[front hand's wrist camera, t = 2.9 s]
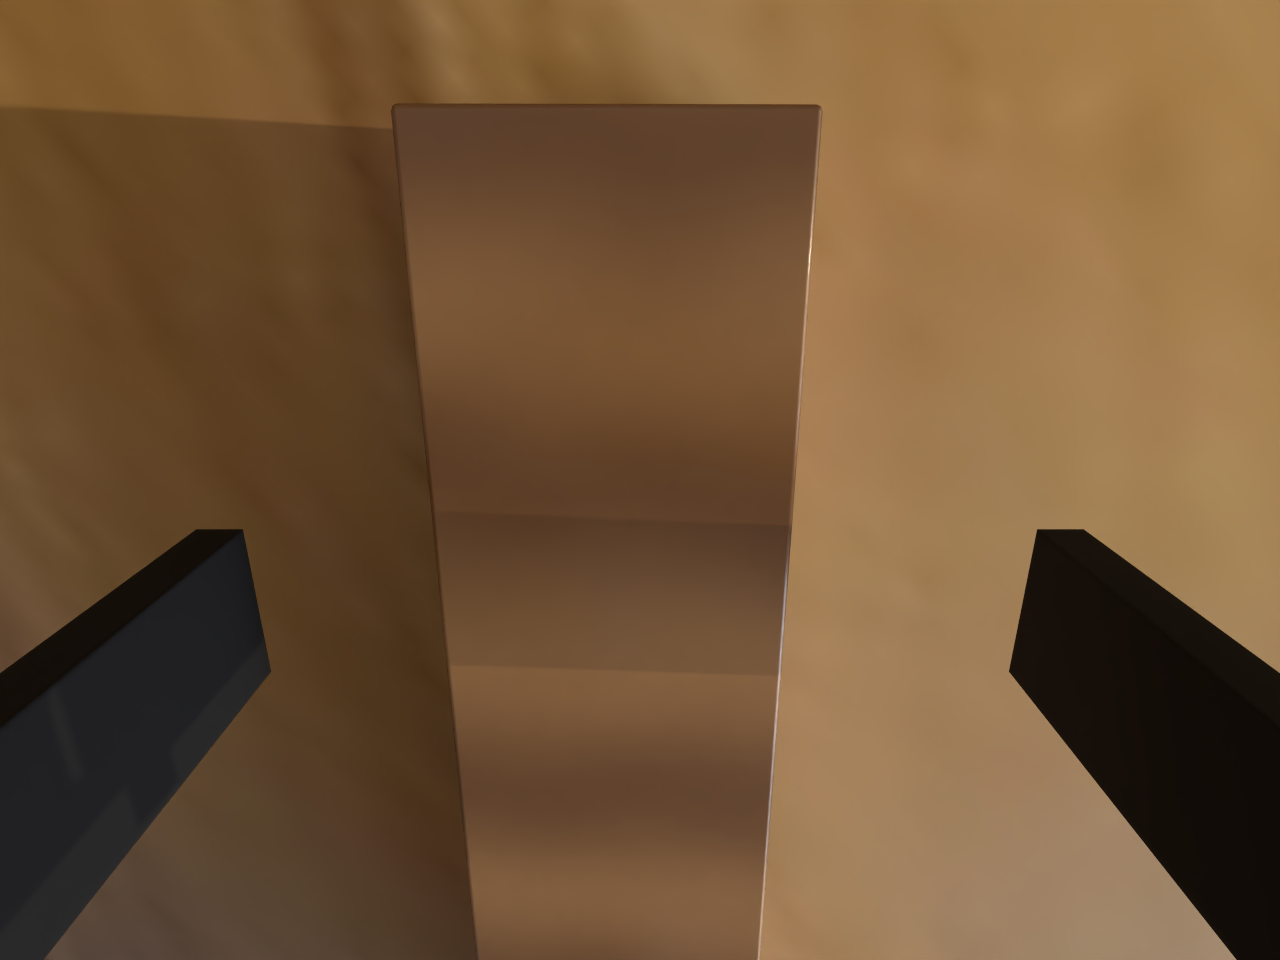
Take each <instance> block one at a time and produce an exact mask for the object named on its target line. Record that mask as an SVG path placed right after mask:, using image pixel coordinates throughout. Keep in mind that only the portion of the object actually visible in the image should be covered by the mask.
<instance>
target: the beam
mask: <svg viewBox="0 0 1280 960" xmlns="http://www.w3.org/2000/svg"><path fill="white" fill-rule="evenodd" d="M391 114H392V124H393V134H394V144H395V154H396V164H397V174H398V184H399V194H400V204H401V214H402V223H403V233H404V243H405V253H406V263H407V273H408V283H409V293H410V303H411V313H412V323H413V333H414V343H415V352H416V362H417V372H418V382H419V392H420V402H421V412H422V422H423V432H424V442H425V452H426V462H427V471H428V481H429V491H430V501H431V511H432V521H433V531H434V541H435V551H436V561H437V571H438V581H439V591H440V600H441V610H442V620H443V630H444V640H445V650H446V660H447V670H448V680H449V690H450V700H451V710H452V719H453V729H454V739H455V749H456V759H457V769H458V779H459V789H460V799H461V809H462V819H463V829H464V839H465V848H466V858H467V868H468V878H469V888H470V898H471V908H472V918H473V928H474V938H475V948H476V958H477V960H760V951H761V938H762V924H763V910H764V897H765V883H766V870H767V856H768V843H769V829H770V816H771V802H772V789H773V775H774V762H775V748H776V734H777V721H778V707H779V694H780V680H781V667H782V653H783V640H784V626H785V613H786V599H787V586H788V572H789V558H790V545H791V531H792V518H793V504H794V491H795V477H796V464H797V450H798V437H799V423H800V410H801V396H802V382H803V369H804V355H805V342H806V328H807V315H808V301H809V288H810V274H811V261H812V247H813V234H814V220H815V206H816V193H817V179H818V166H819V152H820V139H821V125H822V108H821V106H819V105H791V104H395V105H393V106H392V109H391Z"/></svg>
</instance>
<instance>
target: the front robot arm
mask: <svg viewBox="0 0 1280 960" xmlns="http://www.w3.org/2000/svg"><path fill="white" fill-rule="evenodd" d="M270 672H271V669H270V664H269V659H268V654H267V649H266V644H265V639H264V634H263V629H262V624H261V619H260V614H259V609H258V604H257V599H256V594H255V589H254V584H253V579H252V574H251V568H250V563H249V558H248V553H247V548H246V543H245V538H244V533H243V529H196V530H195V531H194V532H192V533H191V534H189V535H188V536H187V537H185V538H184V539H183V540H181V541H180V542H179V543H177V544H176V545H174V546H173V547H172V548H170V549H169V550H168V551H166V552H165V553H164V554H162V555H161V556H159V557H158V558H157V559H155V560H154V561H153V562H151V563H150V564H149V565H147V566H146V567H144V568H143V569H142V570H140V571H139V572H138V573H136V574H135V575H134V576H132V577H131V578H129V579H128V580H127V581H125V582H124V583H123V584H121V585H120V586H119V587H117V588H116V589H114V590H113V591H112V592H110V593H109V594H108V595H106V596H105V597H104V598H102V599H101V600H99V601H98V602H97V603H95V604H94V605H93V606H91V607H90V608H89V609H87V610H86V611H84V612H83V613H82V614H80V615H79V616H78V617H76V618H75V619H74V620H72V621H71V622H69V623H68V624H67V625H65V626H64V627H63V628H61V629H60V630H59V631H57V632H56V633H54V634H53V635H52V636H50V637H49V638H48V639H46V640H45V641H44V642H42V643H41V644H39V645H38V646H37V647H35V648H34V649H33V650H31V651H30V652H29V653H27V654H26V655H24V656H23V657H22V658H20V659H19V660H18V661H16V662H15V663H14V664H12V665H11V666H9V667H8V668H7V669H5V670H4V671H3V672H1V673H0V960H43V959H44V958H45V957H46V956H47V954H48V953H49V952H50V951H51V949H52V948H53V947H54V946H55V944H56V943H57V942H58V941H59V939H60V938H61V937H62V935H63V934H64V933H65V932H66V930H67V929H68V928H69V927H70V925H71V924H72V923H73V922H74V920H75V919H76V918H77V916H78V915H79V914H80V913H81V911H82V910H83V909H84V908H85V906H86V905H87V904H88V903H89V901H90V900H91V899H92V897H93V896H94V895H95V894H96V892H97V891H98V890H99V889H100V887H101V886H102V885H103V884H104V882H105V881H106V880H107V878H108V877H109V876H110V875H111V873H112V872H113V871H114V870H115V868H116V867H117V866H118V865H119V863H120V862H121V861H122V859H123V858H124V857H125V856H126V854H127V853H128V852H129V851H130V849H131V848H132V847H133V846H134V844H135V843H136V842H137V840H138V839H139V838H140V837H141V835H142V834H143V833H144V832H145V830H146V829H147V828H148V827H149V825H150V824H151V823H152V821H153V820H154V819H155V818H156V816H157V815H158V814H159V813H160V811H161V810H162V809H163V808H164V806H165V805H166V804H167V802H168V801H169V800H170V799H171V797H172V796H173V795H174V794H175V792H176V791H177V790H178V789H179V787H180V786H181V785H182V783H183V782H184V781H185V780H186V778H187V777H188V776H189V775H190V773H191V772H192V771H193V770H194V768H195V767H196V766H197V764H198V763H199V762H200V761H201V759H202V758H203V757H204V756H205V754H206V753H207V752H208V751H209V749H210V748H211V747H212V746H213V744H214V743H215V742H216V740H217V739H218V738H219V737H220V735H221V734H222V733H223V732H224V730H225V729H226V728H227V727H228V725H229V724H230V723H231V721H232V720H233V719H234V718H235V716H236V715H237V714H238V713H239V711H240V710H241V709H242V708H243V706H244V705H245V704H246V702H247V701H248V700H249V699H250V697H251V696H252V695H253V694H254V692H255V691H256V690H257V689H258V687H259V686H260V685H261V683H262V682H263V681H264V680H265V678H266V677H267V676H268V675H269V673H270ZM1009 672H1010V673H1011V675H1012V676H1013V677H1014V678H1015V680H1016V681H1017V682H1018V683H1019V685H1020V686H1021V687H1022V689H1023V690H1024V691H1025V692H1026V694H1027V695H1028V696H1029V697H1030V699H1031V700H1032V701H1033V702H1034V704H1035V705H1036V706H1037V708H1038V709H1039V710H1040V711H1041V713H1042V714H1043V715H1044V716H1045V718H1046V719H1047V720H1048V721H1049V723H1050V724H1051V725H1052V727H1053V728H1054V729H1055V730H1056V732H1057V733H1058V734H1059V735H1060V737H1061V738H1062V739H1063V740H1064V742H1065V743H1066V744H1067V746H1068V747H1069V748H1070V749H1071V751H1072V752H1073V753H1074V754H1075V756H1076V757H1077V758H1078V759H1079V761H1080V762H1081V763H1082V764H1083V766H1084V767H1085V768H1086V770H1087V771H1088V772H1089V773H1090V775H1091V776H1092V777H1093V778H1094V780H1095V781H1096V782H1097V783H1098V785H1099V786H1100V787H1101V789H1102V790H1103V791H1104V792H1105V794H1106V795H1107V796H1108V797H1109V799H1110V800H1111V801H1112V802H1113V804H1114V805H1115V806H1116V808H1117V809H1118V810H1119V811H1120V813H1121V814H1122V815H1123V816H1124V818H1125V819H1126V820H1127V821H1128V823H1129V824H1130V825H1131V827H1132V828H1133V829H1134V830H1135V832H1136V833H1137V834H1138V835H1139V837H1140V838H1141V839H1142V840H1143V842H1144V843H1145V844H1146V846H1147V847H1148V848H1149V849H1150V851H1151V852H1152V853H1153V854H1154V856H1155V857H1156V858H1157V859H1158V861H1159V862H1160V863H1161V865H1162V866H1163V867H1164V868H1165V870H1166V871H1167V872H1168V873H1169V875H1170V876H1171V877H1172V878H1173V880H1174V881H1175V882H1176V884H1177V885H1178V886H1179V887H1180V889H1181V890H1182V891H1183V892H1184V894H1185V895H1186V896H1187V897H1188V899H1189V900H1190V901H1191V903H1192V904H1193V905H1194V906H1195V908H1196V909H1197V910H1198V911H1199V913H1200V914H1201V915H1202V916H1203V918H1204V919H1205V920H1206V922H1207V923H1208V924H1209V925H1210V927H1211V928H1212V929H1213V930H1214V932H1215V933H1216V934H1217V935H1218V937H1219V938H1220V939H1221V941H1222V942H1223V943H1224V944H1225V946H1226V947H1227V948H1228V949H1229V951H1230V952H1231V953H1232V954H1233V956H1234V957H1235V958H1236V959H1237V960H1280V673H1279V672H1277V671H1276V670H1275V669H1273V668H1272V667H1271V666H1269V665H1268V664H1266V663H1265V662H1264V661H1262V660H1261V659H1260V658H1258V657H1257V656H1256V655H1254V654H1253V653H1251V652H1250V651H1249V650H1247V649H1246V648H1245V647H1243V646H1242V645H1241V644H1239V643H1238V642H1236V641H1235V640H1234V639H1232V638H1231V637H1230V636H1228V635H1227V634H1226V633H1224V632H1223V631H1221V630H1220V629H1219V628H1217V627H1216V626H1215V625H1213V624H1212V623H1211V622H1209V621H1208V620H1206V619H1205V618H1204V617H1202V616H1201V615H1200V614H1198V613H1197V612H1196V611H1194V610H1193V609H1191V608H1190V607H1189V606H1187V605H1186V604H1185V603H1183V602H1182V601H1181V600H1179V599H1178V598H1176V597H1175V596H1174V595H1172V594H1171V593H1170V592H1168V591H1167V590H1166V589H1164V588H1163V587H1161V586H1160V585H1159V584H1157V583H1156V582H1155V581H1153V580H1152V579H1151V578H1149V577H1148V576H1146V575H1145V574H1144V573H1142V572H1141V571H1140V570H1138V569H1137V568H1136V567H1134V566H1133V565H1131V564H1130V563H1129V562H1127V561H1126V560H1125V559H1123V558H1122V557H1121V556H1119V555H1118V554H1116V553H1115V552H1114V551H1112V550H1111V549H1110V548H1108V547H1107V546H1106V545H1104V544H1103V543H1101V542H1100V541H1099V540H1097V539H1096V538H1095V537H1093V536H1092V535H1091V534H1089V533H1088V532H1086V531H1085V530H1084V529H1037V533H1036V538H1035V543H1034V548H1033V553H1032V558H1031V563H1030V568H1029V574H1028V579H1027V584H1026V589H1025V594H1024V599H1023V604H1022V609H1021V614H1020V619H1019V624H1018V629H1017V634H1016V639H1015V644H1014V649H1013V654H1012V659H1011V664H1010V669H1009Z"/></svg>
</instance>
